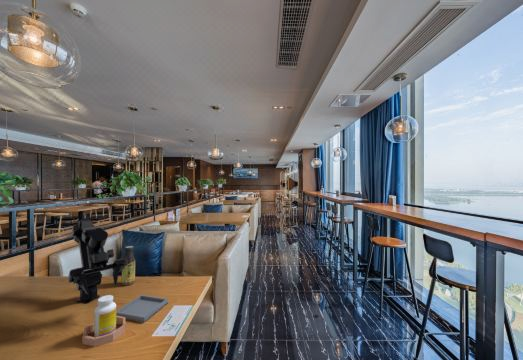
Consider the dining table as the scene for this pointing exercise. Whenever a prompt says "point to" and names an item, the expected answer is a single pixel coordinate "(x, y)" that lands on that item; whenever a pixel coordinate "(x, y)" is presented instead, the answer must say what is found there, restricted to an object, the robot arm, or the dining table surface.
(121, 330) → the holder ring
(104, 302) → the supplement bottle
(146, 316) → the tray
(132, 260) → the sauce bottle
